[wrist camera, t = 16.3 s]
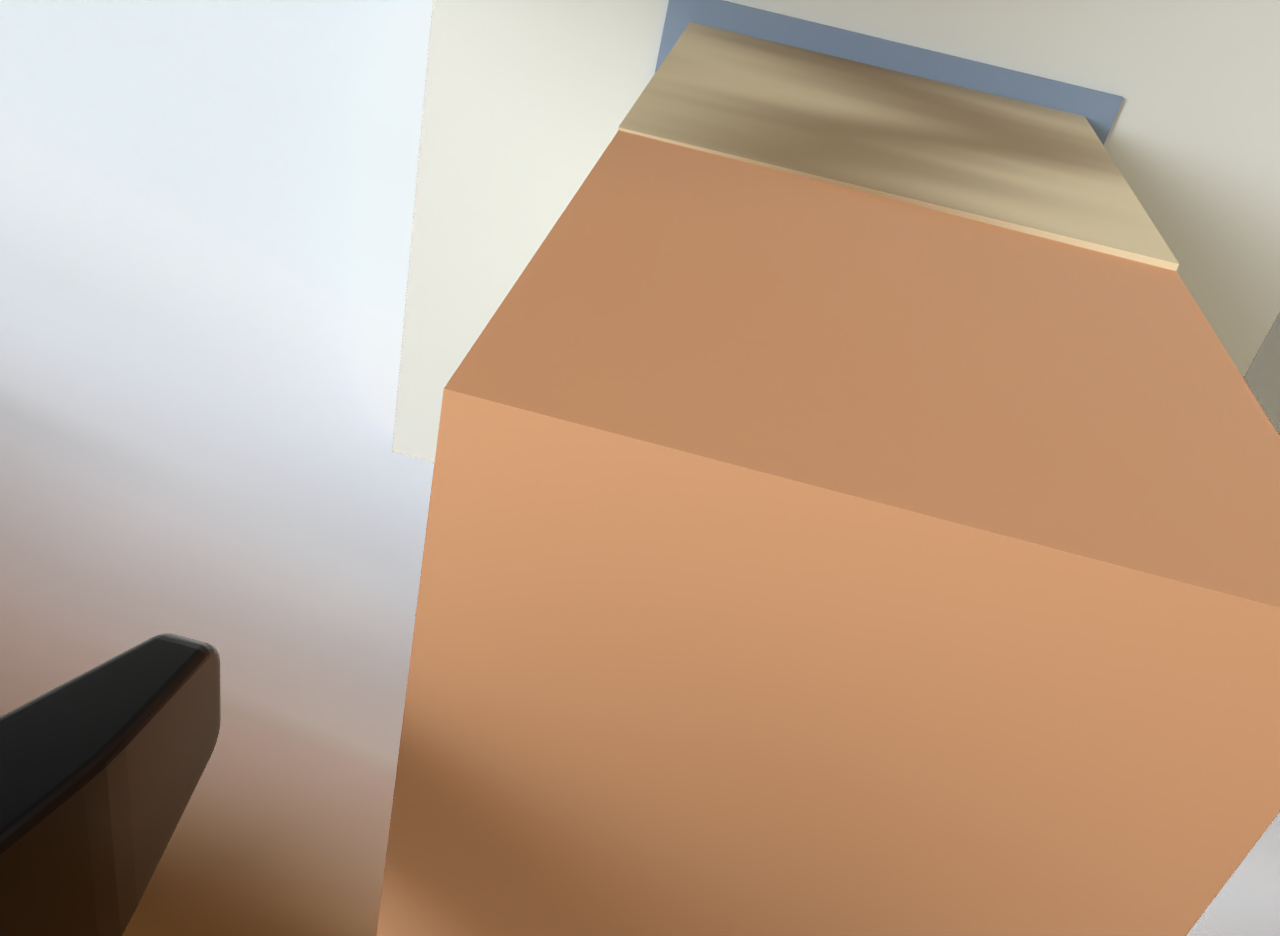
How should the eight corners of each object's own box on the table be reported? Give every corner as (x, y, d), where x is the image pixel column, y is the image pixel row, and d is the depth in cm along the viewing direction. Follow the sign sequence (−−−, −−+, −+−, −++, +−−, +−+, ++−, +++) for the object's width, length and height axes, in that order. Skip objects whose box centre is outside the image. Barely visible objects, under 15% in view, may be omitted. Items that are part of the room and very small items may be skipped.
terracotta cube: (1177, 271, 12) (1407, 640, 7) (972, 685, 15) (1028, 1145, 10) (619, 129, 12) (443, 388, 7) (534, 568, 15) (373, 962, 10)
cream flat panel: (1095, 609, 22) (1102, 639, 22) (406, 431, 23) (390, 455, 22) (1443, -43, 16) (1472, -33, 15) (473, -271, 16) (455, -272, 16)
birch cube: (1085, 116, 17) (1179, 264, 12) (949, 453, 20) (978, 682, 15) (690, 21, 17) (618, 126, 12) (618, 370, 20) (538, 568, 15)
